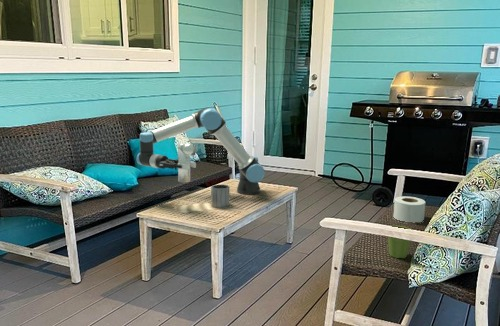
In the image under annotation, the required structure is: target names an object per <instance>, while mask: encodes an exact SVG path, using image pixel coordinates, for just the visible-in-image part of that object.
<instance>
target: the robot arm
mask: <svg viewBox="0 0 500 326" xmlns="http://www.w3.org/2000/svg"><path fill="white" fill-rule="evenodd" d="M226 123H227V122H226V120H225V119H224V118H223V117H222V115H221V113H220V112H219V111H218V110H217V109H215V108H212V107H207V106H206V107H203V108H202V109H200V110H198V111H195V112H193V113H191V115H190V116H186V117H184V118H181V119H179V120H177V121H174V122H172V123H169V124H167V125H166V124H165V125H164V126H161V127H159V128H156V129H153V130H151V131H148V132H140V134H139V152H138V154H137V155H136V163H137V164H138V165H141V166H143V167H148V168H149V167H150V168H155V169H163V170H164V169H171V170H173V169H174V170H175V171H176V170H177V171H178V169H184V170H188V165H186V164H179V163H178V158H174V159H172V158H169V157H168V156H167V155H165V154H164V155H162V154H156V153H154V144H156V143H159V142H160V141H164V140H166V139H169V138H172V137H174V136H177V135H180V134H182V133H185V132H187V131H190V130H192V129H195V128H196V129H200V128H205V130H206V131H207V132H208V134H210V136H215V138H216V139H217V140H218V141H219V142H220V144H221V145H222V146H223V148H224V149H225V150H226V151H227V152H228V154H229V155H230V156H231V157H232V158H233V159H234V161H235V162H236V163H237V165H238V169H239V181H238V183H237V187H236V192H237V193H238V194H241V195H247V196H249V195H251V196H252V195H257V194H260V193H261V187H260V184H259V182H261V181H262V180H263V179H264V176H265V168H264V166H263V165H261V164H260V162H259V158H258V157H257V156H254V155H253V156H252V155H250V154H249V152H247V151H246V149H245V148H244V147H243V146H242V144H241V143H240V142H239V140H238V139H237V138H236V137H235V136H234V134H232V132H231V131H230V130H229V128H228V127H227V126H226V125H227V124H226ZM190 168H195V169H196V168H197V162H194V161H190Z"/></svg>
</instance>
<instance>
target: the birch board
mask: <svg viewBox="0 0 500 326" xmlns="http://www.w3.org/2000/svg"><path fill="white" fill-rule="evenodd" d="M173 207H174V209H175V210H177V212H178V213H179V214H184V213H185V214H186V213H193V212H194V213H195V212H202V211H212V210H219V209H220V210H221V209H222V208H215V207H212V206H211V202H204V203H193V204H186V205H175V206H173ZM230 208H232V206H231V205H230V204H229V207H226V208H225V209H230Z"/></svg>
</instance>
